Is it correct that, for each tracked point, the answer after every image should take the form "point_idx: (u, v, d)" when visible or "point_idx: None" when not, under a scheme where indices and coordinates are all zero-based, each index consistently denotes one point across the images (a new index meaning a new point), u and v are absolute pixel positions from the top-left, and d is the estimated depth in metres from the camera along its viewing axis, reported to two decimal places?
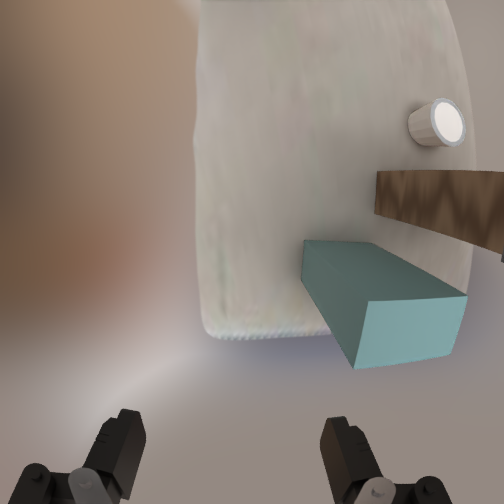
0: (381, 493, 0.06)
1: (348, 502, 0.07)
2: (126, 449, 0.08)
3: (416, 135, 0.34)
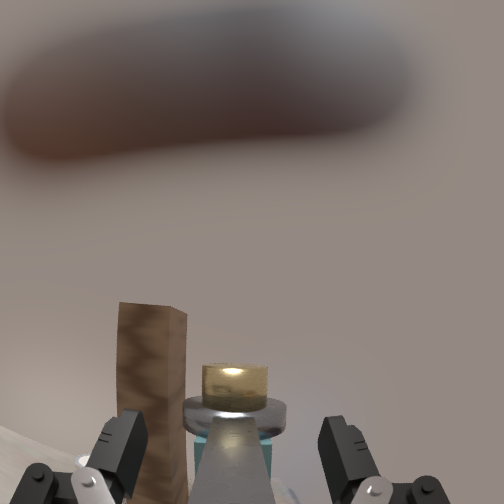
0: (378, 492, 0.06)
1: (345, 501, 0.07)
2: (129, 448, 0.08)
3: None
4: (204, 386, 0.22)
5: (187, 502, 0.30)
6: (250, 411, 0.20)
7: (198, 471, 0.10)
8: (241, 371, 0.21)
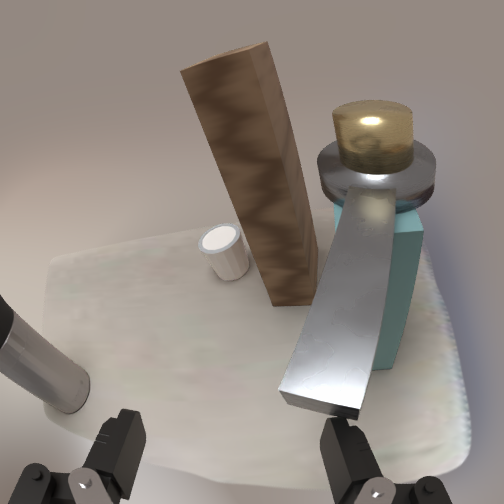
0: (381, 493, 0.06)
1: (348, 502, 0.07)
2: (126, 449, 0.08)
3: (237, 271, 0.46)
4: (338, 140, 0.18)
5: (316, 248, 0.45)
6: (393, 173, 0.17)
7: (308, 317, 0.11)
8: (378, 125, 0.15)
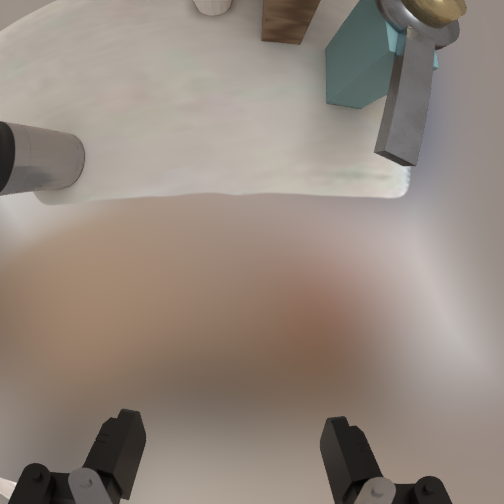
0: (381, 493, 0.06)
1: (348, 502, 0.07)
2: (126, 449, 0.08)
3: (223, 8, 0.33)
4: None
5: None
6: (434, 28, 0.16)
7: (394, 112, 0.18)
8: (447, 11, 0.12)
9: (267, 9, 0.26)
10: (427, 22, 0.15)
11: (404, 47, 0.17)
